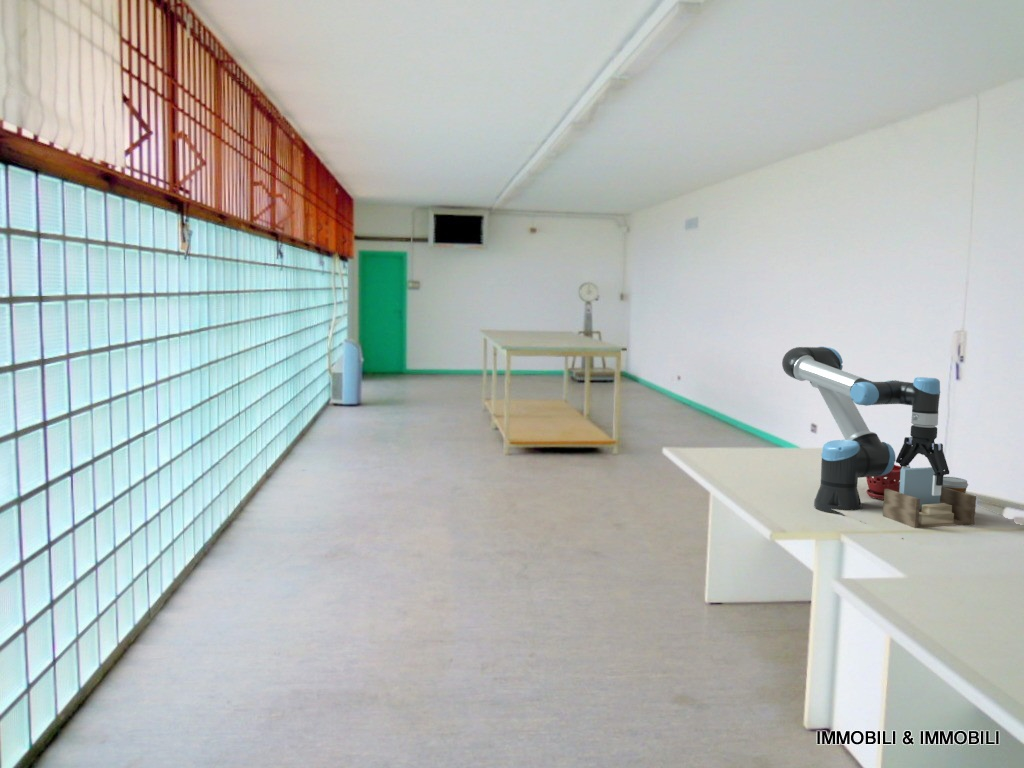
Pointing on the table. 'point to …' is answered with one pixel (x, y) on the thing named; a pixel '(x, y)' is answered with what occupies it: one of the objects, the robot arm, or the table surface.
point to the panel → (918, 484)
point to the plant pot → (884, 483)
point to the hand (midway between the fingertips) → (920, 490)
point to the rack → (908, 509)
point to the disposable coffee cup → (955, 484)
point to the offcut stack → (936, 514)
